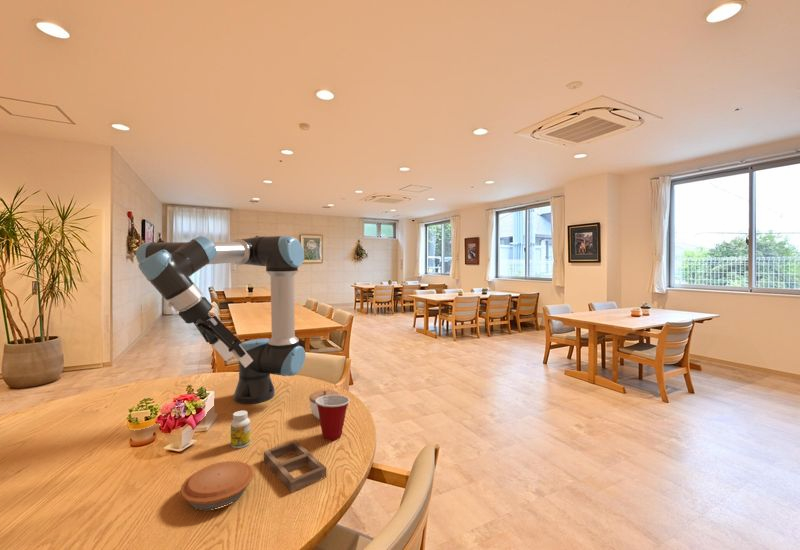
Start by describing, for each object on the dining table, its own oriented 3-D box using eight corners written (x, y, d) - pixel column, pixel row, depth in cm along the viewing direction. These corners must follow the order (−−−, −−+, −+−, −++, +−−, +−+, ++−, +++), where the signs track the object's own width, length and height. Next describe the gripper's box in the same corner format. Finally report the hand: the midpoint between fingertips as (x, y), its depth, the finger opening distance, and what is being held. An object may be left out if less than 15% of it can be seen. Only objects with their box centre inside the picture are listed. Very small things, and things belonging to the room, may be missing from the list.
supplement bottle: (254, 441, 109) (254, 410, 108) (241, 450, 104) (241, 418, 103) (239, 438, 110) (239, 408, 110) (226, 447, 105) (226, 415, 105)
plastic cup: (355, 430, 116) (355, 395, 116) (339, 447, 106) (339, 407, 106) (326, 425, 120) (326, 390, 119) (308, 440, 110) (308, 402, 109)
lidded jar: (343, 410, 132) (343, 386, 131) (335, 424, 121) (335, 397, 121) (315, 409, 133) (315, 384, 132) (304, 422, 122) (304, 395, 122)
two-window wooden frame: (263, 460, 99) (263, 451, 99) (296, 448, 105) (296, 440, 105) (291, 492, 85) (291, 482, 85) (326, 477, 91) (326, 467, 91)
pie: (174, 526, 74) (174, 503, 74) (186, 483, 88) (186, 463, 88) (254, 506, 80) (254, 485, 80) (253, 469, 95) (253, 451, 94)
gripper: (165, 311, 101) (212, 364, 110) (193, 314, 84) (246, 377, 92) (188, 295, 106) (232, 347, 114) (220, 295, 89) (268, 356, 97)
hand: (239, 361), depth 103 cm, fingers open, 13 cm apart
